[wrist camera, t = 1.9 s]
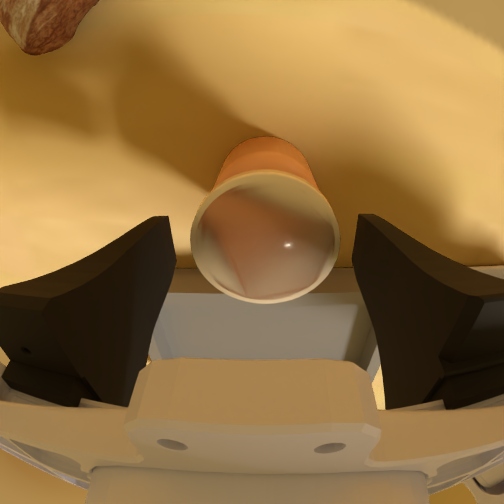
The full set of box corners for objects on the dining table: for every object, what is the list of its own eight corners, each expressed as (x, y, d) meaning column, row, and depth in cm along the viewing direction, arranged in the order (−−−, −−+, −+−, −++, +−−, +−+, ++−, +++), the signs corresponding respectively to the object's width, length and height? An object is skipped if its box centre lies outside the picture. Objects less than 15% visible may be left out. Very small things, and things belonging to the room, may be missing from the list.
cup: (315, 133, 15) (347, 176, 10) (311, 222, 18) (331, 302, 12) (213, 134, 16) (180, 177, 10) (220, 223, 19) (200, 302, 13)
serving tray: (396, 267, 20) (408, 289, 18) (362, 370, 26) (367, 392, 24) (136, 268, 21) (124, 291, 19) (171, 370, 27) (165, 392, 25)
